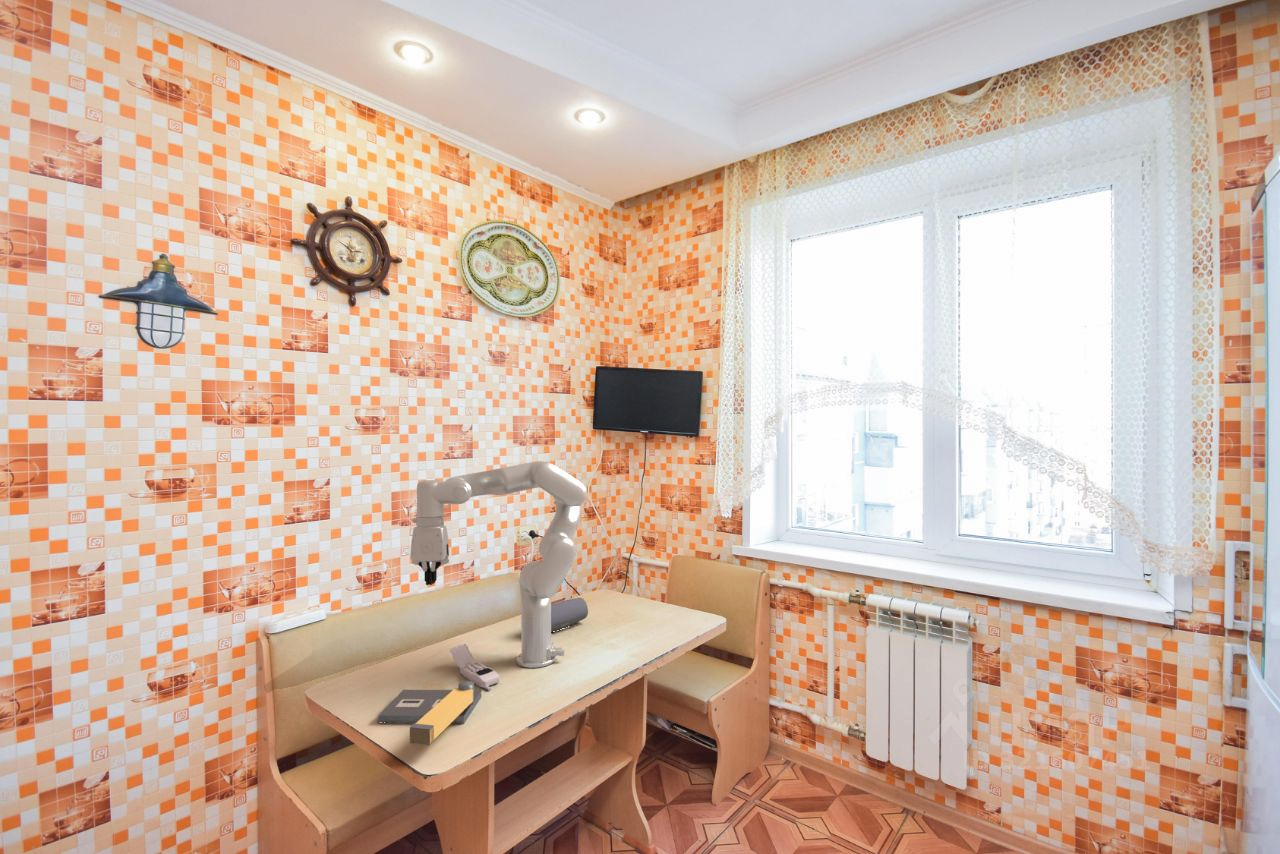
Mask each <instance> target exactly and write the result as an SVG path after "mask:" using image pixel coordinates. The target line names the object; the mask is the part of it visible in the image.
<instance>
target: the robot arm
mask: <svg viewBox="0 0 1280 854" xmlns="http://www.w3.org/2000/svg"><path fill="white" fill-rule="evenodd" d="M537 488H538V489H542V490H544V491H545V492H547V493H548V494H549V495H551V496H552V497H553V499H554V503H555V507H556V509H555V513H554V516H553V518H552V521H551V523H550V525H549V526H548V527H547V530H546V531H545V533H544V535H543V537H542V538H541V539H540V542H539V544H538V553H539V555H540V556H541V558H543V559H542V560H541V561H536V560H535V561H534V560H532V561H529V562H527V563H526V564H525V565H524V566H523V567H522V569H521V570H520V573H519V579H518V581H519V589H520V590H519V591H520V602H521V603H520V605H521V607H520V610H521V613H520V614H521V617H520V619H521V621H520V622H521V623H520V625H521V632H520V633H521V641H520V642H521V643H520V644H521V645H520V648H521V650H520V651H521V653H519V654H518V655H517V656H516V663H517V664H518V665H519V666H521V667H524V668H528V669H529V668H530V669H533V668H542V667H546V666H549V665H551V664H553V663H554V662H555V661H556V660H557V657H564V656H565V653H566V652H565V649H563V647H561V646H560V647H556V646H554V642H552V633H551V604H552V599H551V598H553V596H554V595H556V594H557V592H558V591H559V590H560V588H561V586H562V584H563V582H564V580H565V579H566V577H567V575H568V573H569V572H570V570H571V568H572V566H573V563H575V559H576V554H577V547H576V544H575V542H574V541H573V539H572V538H573V537H574V535H575V533H576V532H577V529H578V527H579V523H580V522H581V515H582V511H581V506H582V505H583V504H584V503H585V502H586V500H587V497H588V491H587V488H586V486H585V485H584V484H583V482H581V481H580V480H578V479H577V478H575V477H573V476H572V475H570V474H569V473H567V472H565V471H564V470H563V469H562V468H560V467H558V466H557V465H555V464H553V463H552V462H548V461H542V460H541V461H540V460H539V461H538V460H536V461H531V462H530V461H529V462H527V463H526V462H525V463H522V464H517V465H511V466H505V467H500V468H494V469H491V470H490V469H489V470H486V471H485V470H484V471H478V472H472V473H467V474H463V475H457V476H453V477H449V478H447V479H446V480H445V481H441V480H437V479H429V480H428V479H427V480H421V481H419V482H417V484H416V517H413V518H412V523H415V524H416V526H415V527H413V530H412V534H411V543H410V560H411V563H412V565H416V566H419V567H420V568H421V569H422V571H423V572H424V582H425V585H426V586H432V585H434V584H435V583H436V581H437V577H438V576H437V573H438V572H437V570H438V569H439V568H440V567H441V566H445V565H447V564H449V563H450V559H449V556H450V544H449V543H450V542H449V541H450V540H449V535H448V534H449V533H448V528H447V526H446V525H444V524H445V520H444V518H445V504H448V505H462V504H465V503H466V502H468V501H469V500H470V499H471V498H474V497H478V496H487V495H488V496H489V495H490V496H502V495H510V494H515V493H518V492H523V491H526V490H527V491H529V490H532V489H537Z"/></svg>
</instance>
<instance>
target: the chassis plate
mask: <svg viewBox="0 0 1280 854" xmlns="http://www.w3.org/2000/svg"><path fill="white" fill-rule="evenodd" d="M453 690H454V689H402V691H400V692H399V694H398V695H397V696H395V698H393V700H392V701H391V702H390V703H389V704H388V705H386V706H385V707H384V709H383V710H382V711H380V713H379V714H378V715H377V719H378V720H377V723H378V722H382V723H381V724H402V723H417V722H418V721H419V720H420V719H421V718H422V717H423V716H424V715H426V714H427V713H428V712H429V711H430V710H431V709H432V708H433V707H435V706H436V705H437V704H438V703H439V702H440V701H441V700H443V699H444V698H445V697H446V696H447V695H448V694H449V693H450V692H452V691H453ZM481 699H482V689H474V704H473V705H471V706H468V707H467V708H466V709H465V710H464V711H463V712H462V713H461V714H460V715H459V716H457V717H456V718H455V719H454V720H453V721H452V722H451V723H450V724H449V725H464V724H465V723H466V722H467V720H468V719H469V716H470V715H471V714H472V712H473V711H474V709H475V708H476V706H477V705H478V703H479V702H480V700H481ZM384 722H385V723H384Z"/></svg>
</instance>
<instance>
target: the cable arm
mask: <svg viewBox="0 0 1280 854" xmlns="http://www.w3.org/2000/svg"><path fill="white" fill-rule="evenodd" d="M452 690H453V691H452V692H450V693H449V694H448V695H447V696H446V697H445V698H444V699H443V700H441V701H440V702H439V703H438V704H437V705H436V706H435V707H433V708H432V709H431V710H430V711H429V712H428V713H427V714H426V715H424V716H423V717H422V718H421V719H420V720H419V721H418V722H417V723H414V724H411V726H409V744H413V745H414V744H415V745H416V744H417V745H426V746H431V744H433V743H434V742H435V739H436V738H437V737H438V736H440V734H441V733H442V732H443V731H445V729H447V727H449V726H450V725H451V724H450V723H451V722H452V721H453V720H454V719H455V718H456V717H457V716H459V715H460V714H461V713H462V712H463V711H464V710H465V709H466V708H467V707H468V706H471V705H473V704H474V690H475V683H474V682H472V681H471V680H466V681H465V680H464V681H461V682H460V683H458V685H457V687H455V688H454V689H452Z"/></svg>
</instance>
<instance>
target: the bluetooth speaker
mask: <svg viewBox="0 0 1280 854" xmlns="http://www.w3.org/2000/svg"><path fill="white" fill-rule="evenodd" d="M588 614H589V609H588V605H587V601H586V600H585V599H584V598H582V597H576V598H569V599H565V600H561V601H557V602H554V603H551V632H553V631H557V630H560V629H562V628H566V627H568V626H570V627H571V625H573V624H575V623H578V622H580V621H583V620H585V619H586V618H587V616H588Z"/></svg>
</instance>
